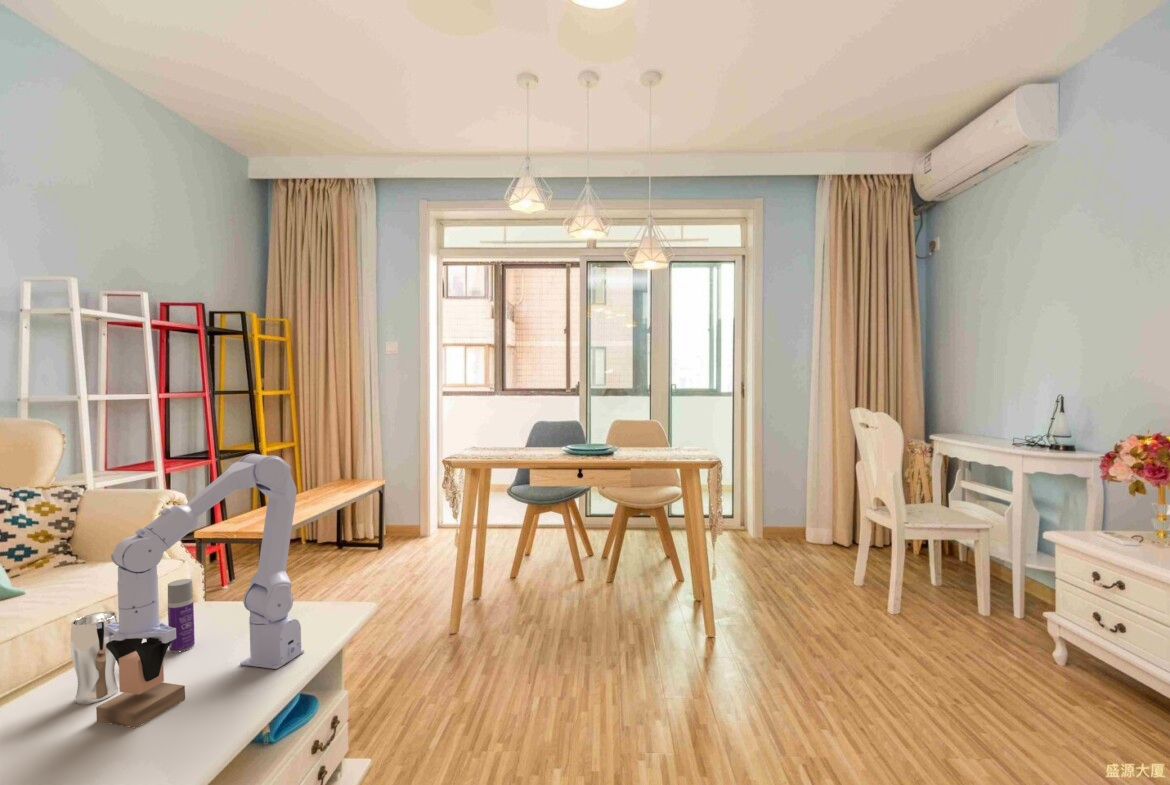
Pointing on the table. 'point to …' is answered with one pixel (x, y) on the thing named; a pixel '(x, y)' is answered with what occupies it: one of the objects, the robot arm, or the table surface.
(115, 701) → the walnut base
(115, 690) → the beer glass
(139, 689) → the terracotta block
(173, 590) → the container
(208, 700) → the table surface
